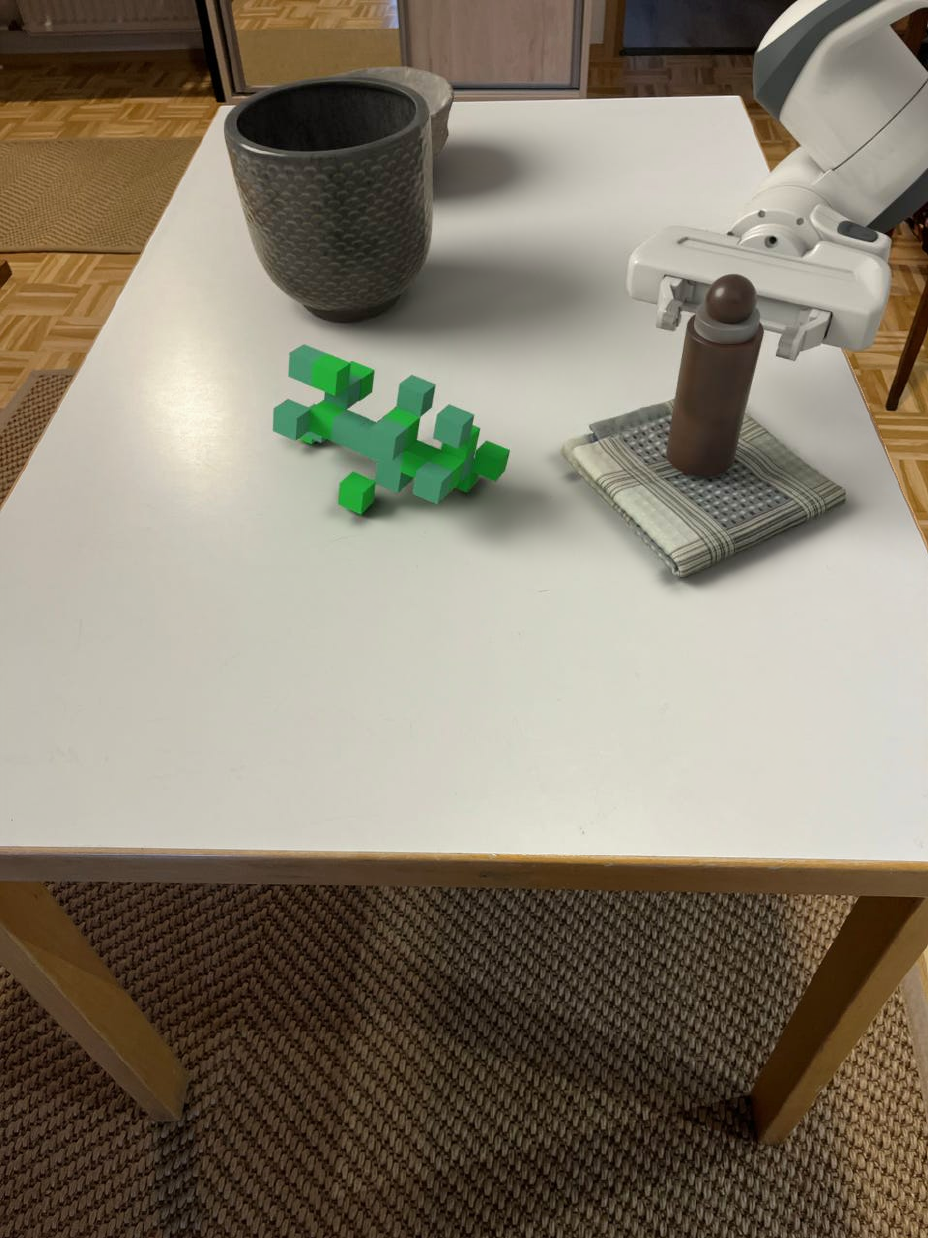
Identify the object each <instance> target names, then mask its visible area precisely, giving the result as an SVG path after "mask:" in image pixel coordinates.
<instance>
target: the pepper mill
mask: <svg viewBox="0 0 928 1238" xmlns="http://www.w3.org/2000/svg"><path fill="white" fill-rule="evenodd" d="M756 302H757V294H756V290H755V287H754V285H753V284H752V282H751V281H750V280H749V279H747V278H746V277H744V276H742V275H739V274H728V275H724V276H722V277H720V278H718V279H717V280H716V281H715V282H714V283H713V284H712V285H711V286H710V288H709V290H708V292H707V294H706V298H705V301H704V302H702V303H701V304H700V305H699V306H698V308H697V310H696V314H695V313H693V315H691V317H690V318H689V319H688V321H687V323H686V327H685V328H686V329H685V333H684V340H683V346H682V352H681V358H680V365H679V369H678V376H677V383H676V389H675V395H674V399H675V400H674V406H673V412H672V418H671V424H670V430H669V436H668V442H667V448H666V457H667V459H668V461H669V463H670V464H671V465H672V466H673V467H674V468H676V469H677V470H679V471H680V472H683V473H685V474H688V475H692V476H697V477H711V476H716V475H719V474H722V473H724V472H725V471H727V470H728V469H729V468H730V467H731V466H732V464H733V462H734V457H735V453H736V449H737V445H738V440H739V436H740V432H741V428H742V424H743V419H744V415H745V414H746V410H747V406H748V402H749V398H750V394H751V389H752V385H753V382H754V377H755V372H756V369H757V364H758V360H759V356H760V352H761V347H762V343H763V339H764V334H765V330H764V328H763V326H762V324H761V323H760V312H759V310H758V309H757V308H756V307H755V306H756Z"/></svg>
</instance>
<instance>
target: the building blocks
mask: <svg viewBox="0 0 928 1238" xmlns="http://www.w3.org/2000/svg"><path fill="white" fill-rule="evenodd" d="M375 372H376V369H373V368H371V367H369V366H366V365H364V364H361V363H359V362H356V361H353V360H351V361H347V360H345V359H342V358H340V357H338V356H335V355H332V354H330V353H328V352H325V351H322V350H320V349H317V348H314V347H312V346H310V345H307V344H305V343H304V344H301V345H300V346H298V347H297V348H295V349H294V350H292V351H290V352H289V358H288V376H287V377H288V378H290V379H293V380H295V381H297V382H300V383H302V384H305V385H307V386H309V387H312V388H315V389H317V390H319V391H322V392H324V396H323V400H321V401H320V402H318V403H313V404H311V405H310V406H306V405H304V404H302V403H299V402H296V401H294V400H292V399H289V398H287V399H286V400H284V401H283V402H281V403H280V404H278V405H277V406H275V407H274V408H273V412H272V413H273V414H272V432H274V433H276V434H279V435H281V436H282V437H285V438H288V439H289V440H292V441H295V442H296V441H298V440H301V441H303V442H306V443H308V444H310V445H312V444H314V443H315V442H317V443H321V444H322V443H324V442H325V441H326V440H328V441H330V442H332V443H333V444H337V445H339V446H341V447H343V448H346V449H348V450H350V451H353V452H354V453H356V454H358V455H361V456H363V457H365V458H368V459H370V460H372V461H375V462H376V468H375V476H374V479H372V478H370V477H367V476H366V475H363V474H361V473H358V472H356V471H351V472H350V473H349V474H348V475H347V476H346V477H345V478H343V479H342V480H341V481H340V482H339V486H338V500H337V504H338V506H341V507H342V508H345V509H348V510H350V511H352V512H353V513H357V514H358V515H362V514H363V513H365V511H366V510H367V509H369V507H370V506H371V505H373V504H374V501H375V493H376V485H377V486H380V487H383V488H384V489H387V490H389V491H391V492H393V493H396V494H399V493H400V492H402V490H403V489H404V488H405V487H407V486H408V485H409V484H410V483H411V482H412V481H413V480H414V483H413V489H412V494H413V495H415V496H417V497H420V498H421V499H424V500H426V501H429V502H431V503H433V504H435V505H439V503H441V502H442V501H443V500H444V499H445V498H446V497H447V496H448V495H449V494H450V493H451V492H452V491H454V489H457V490H459V491H461V492H464V493H468V492H469V491H470V490H471V489H472V488H473V487H474V486H475V485H476V484H477V483H478V481H479V476H480V477H483V478H485V479H487V480H490V481H493V482H494V483H496V482H497V481H498V480H499V478H501V477H502V476H503V474H504V473H505V472H506V470H507V466H508V461H509V457H510V453H511V450H510V448H509V449H508V448H507V447H504V446H501V445H500V444H496V443H494V442H491V441H490V440H487V439H486V440H485V441H484V442H483V443H482V444H481V445H480V446H479V447H478V448H477V446H478V442H479V438H480V432H481V427H479V426H477V425H475V424H474V420H475V414H474V413H472V412H469V411H467V410H464V409H463V408H461V407H457V406H455V405H452V404H447V405H446V406H445V407H444V408H443V409H441V410H440V411H439V412H438V413H437V414H436V418H435V424H434V429H433V436H432V439H434V440H436V441H439V442H441V446H440V447H441V448H438V447H435V446H433V445H431V444H428V443H426V442H424V441H422V440H419V439H418V436H419V430H420V429H419V428H420V423H421V417H422V416H424V415H425V414H426V413H427V412H428V411H430V410H431V409H432V408H433V404H434V396H435V393H436V392H435V391H436V387H437V385H436V383H433V382H431V381H428V380H425V379H423V378H421V377H418V376H416V375H413V374H411V375H409V376H408V377H407V378H406V379H404V380H403V381H401V382H400V383H399V384H398V390H397V391H398V392H397V399H396V406H395V407H394V408H393V409H391V410H390V411H389V412H387V413H386V414H385V415H384V416H383V417H381V418H380V419H379V420H378V421H375V420H372V419H370V418H368V417H366V416H364V415H361V414H359V413H357V412H354V411H352V410H349V409H350V408H351V407H352V406H355V404H357V403H358V402H362V400H364V399H365V398H366V397H367V396H370V395H371V394H372V393H373V388H374V380H375Z"/></svg>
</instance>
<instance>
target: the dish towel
mask: <svg viewBox="0 0 928 1238" xmlns="http://www.w3.org/2000/svg"><path fill="white" fill-rule="evenodd" d="M674 400H675V398H673V399H670V400H667V401H664V402H661V403H656V404H651V405H648V406H643V407H640V408H638V409H636V410H632V411H629V412H626V413H623V414H620V415H617V416H614V417H610V418H605V419H602V420H598V421H594V422H592V423H589V424H588V428H589V429H590V431H592V432H591V433H588V434H587V433H586V434H582V435H580V436H578V437H574V438H569V439H568V440H566V441H565V442H563V444H562V449H561V450H560V453H561V455H562V456H563V457H564V458H565V459H566V461H568V463H569V464H570V465H571V466H572V467H573V469H574V470H575V471H576V472H577V474H578V475H579V476H580V477H581V478H583V479H584V480H585V482H586V483H587V484H589V485H590V486H591V487H592V489H594V490H595V491H596V493H598V494H599V496H601V498H603V499H604V501H606V503H607V504H608V505H609V506H611V508H613V509H614V510H615V511H616V513H618V515H620V516H621V517H622V519H623V520H625V522H626V523H627V524H628V525H629V527H630V528H631V530H633V531H634V533H636V534H637V535H638V537H639V538H640V539H641V540H642V541H643V542H644V543H645V545H646V546H648V547H649V548H650V550H652V552H653V553H654V554H655V555H657V556H658V558H659V559H660V560H661V561H662V562H663V563H664V564H665V565H666V567H668V568H669V570H670V571H671V573H672V575H673V576H674V577H675V578H684V577H687V576H690V575H692V574H695V573H697V572H699V571H702V570H703V569H707V568H708V567H710V566H713V565H715V564H717V563H719V562H721V561H723V560H725V559H730V558H731V557H733V556H734V555H737V554H739V553H741V552H744V551H746V550H748V549H751V548H753V547H755V546H757V545H759V544H761V543H764V542H767V541H768V540H770V539H772V538H774V537H776V536H778V535H781V534H783V533H786V532H788V531H791V530H792V529H795V528H797V527H799V526H801V525H803V524H806V523H808V522H810V521H812V520H813V521H814V520H815V519H817V518H819V517H821V516H824V515H825V514H828V513H829V512H831V511H833V510H834V509H837V508H839V507H841V506H843V505H845V504H846V503H847V495H846V491H847V490H846V489H845V488H844V487H843V486H842V485H839V484H837V483H836V482H834V481H833V480H831V479H829V478H828V477H826V476H825V475H823V474H822V473H820V472H819V471H818V470H816V469H815V468H813V467H812V466H811V465H810V464H808V463H807V462H805V461H804V460H803V459H802V458H801V457H799V456H797V455H796V454H794V452H793V451H791V450H790V449H788V448H787V447H786V446H785V445H784V444H783V443H782V442H780V440H778V439H777V438H776V437H775V436H774V435H773V434H772V433H771V432H770V431H768V430H767V429H766V428H765V427H764V426H762V425H761V424H760V423H759V422H757V421H756V420H754V419H752V418H751V417H750V416H749V415H748V414H747V413H745V415H744V419H743V424H742V428H741V432H740V436H739V440H738V445H737V449H736V453H735V457H734V462H733V464H732V466H731V467H730V468H729V469H728V470H727V471H725V472H724V473H722V474H719V475H716V476H711V477H697V476H692V475H688V474H685V473H683V472H680V471H679V470H677V469H676V468H674V467H673V466H672V465H671V464H670V463H669V461H668V459H667V457H666V448H667V442H668V436H669V430H670V424H671V418H672V412H673V406H674Z"/></svg>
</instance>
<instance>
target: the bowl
mask: <svg viewBox="0 0 928 1238" xmlns="http://www.w3.org/2000/svg"><path fill="white" fill-rule="evenodd" d="M332 76H360V77H372V78H378V79H384V80H389V81H393V82H397V83H399V84H402V85H405V86H407V87H409V88H411V89H413V90H415V91H416V92H417V93H419V94H420V95H421V96H422V97H423V98H424V99H425V100H426V102H427V104H428V107H429V111H430V117H431V139H432V157H433V160H434V159H435V158H436V157H437V156H438V155H439V154H440V152H441V151H442V150H443V148H444V147H445V144H446V142H447V140H448V137H449V135H450V133H449V132H450V131H449V127H448V123H449V118H450V113H451V109H452V107H453V103H454V101H455V91H454V87H453V85H451V84H450V83H449V82H448V81H447V79H446V78H445V77H443V76H441V75H438V74H436V73H433V72H430V71H428V70H426V69H420V68H415V67H410V66H377V67H375V66H374V67H367V68H357V69H355V70H348V71H344V72H340V73H335V74H333V75H330V76H328V77H332Z"/></svg>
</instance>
